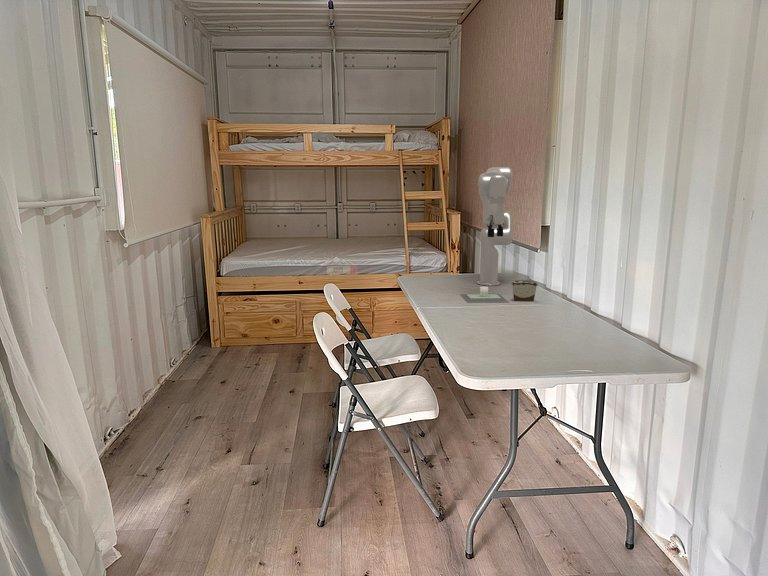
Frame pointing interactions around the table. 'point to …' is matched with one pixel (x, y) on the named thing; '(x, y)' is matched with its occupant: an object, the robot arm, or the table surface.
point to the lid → (483, 295)
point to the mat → (484, 300)
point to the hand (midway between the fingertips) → (495, 236)
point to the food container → (524, 290)
